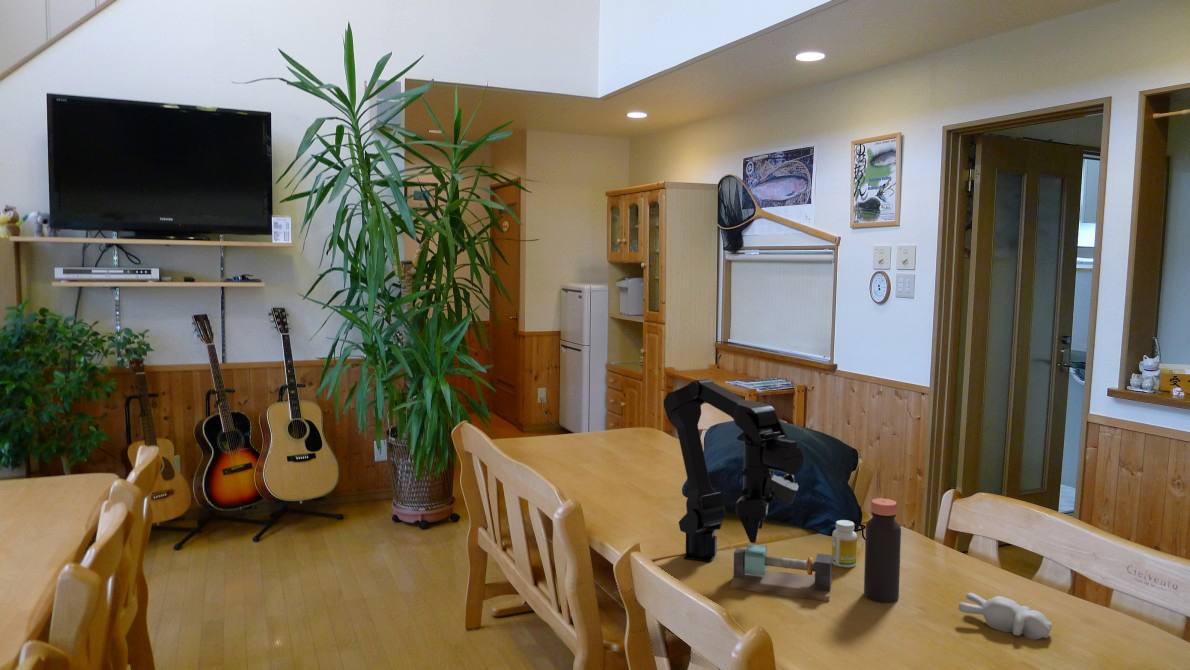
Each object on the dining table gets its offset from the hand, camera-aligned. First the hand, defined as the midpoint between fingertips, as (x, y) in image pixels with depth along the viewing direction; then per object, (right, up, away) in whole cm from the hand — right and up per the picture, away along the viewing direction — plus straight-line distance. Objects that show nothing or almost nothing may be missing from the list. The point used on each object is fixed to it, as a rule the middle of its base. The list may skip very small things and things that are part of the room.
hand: (756, 535), depth 171 cm
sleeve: (0, -8, +1) cm, 8 cm away
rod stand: (+5, -10, -1) cm, 12 cm away
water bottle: (+24, -11, -7) cm, 28 cm away
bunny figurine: (+43, -13, -20) cm, 49 cm away
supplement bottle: (+22, -9, +11) cm, 27 cm away
